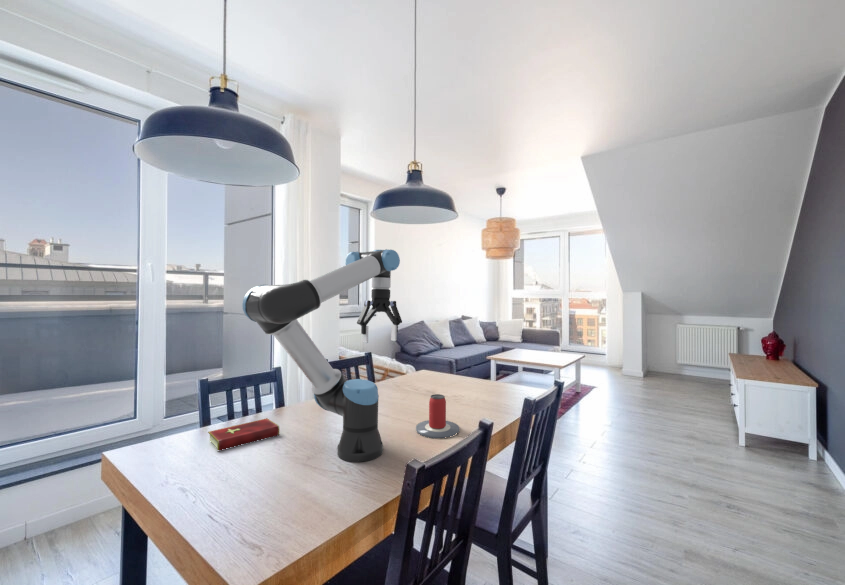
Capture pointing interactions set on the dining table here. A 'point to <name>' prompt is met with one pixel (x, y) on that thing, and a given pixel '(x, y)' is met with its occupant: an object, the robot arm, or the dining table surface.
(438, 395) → the beer can
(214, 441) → the hardcover book
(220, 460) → the dining table surface
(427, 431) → the plate
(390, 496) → the dining table surface
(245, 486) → the dining table surface
